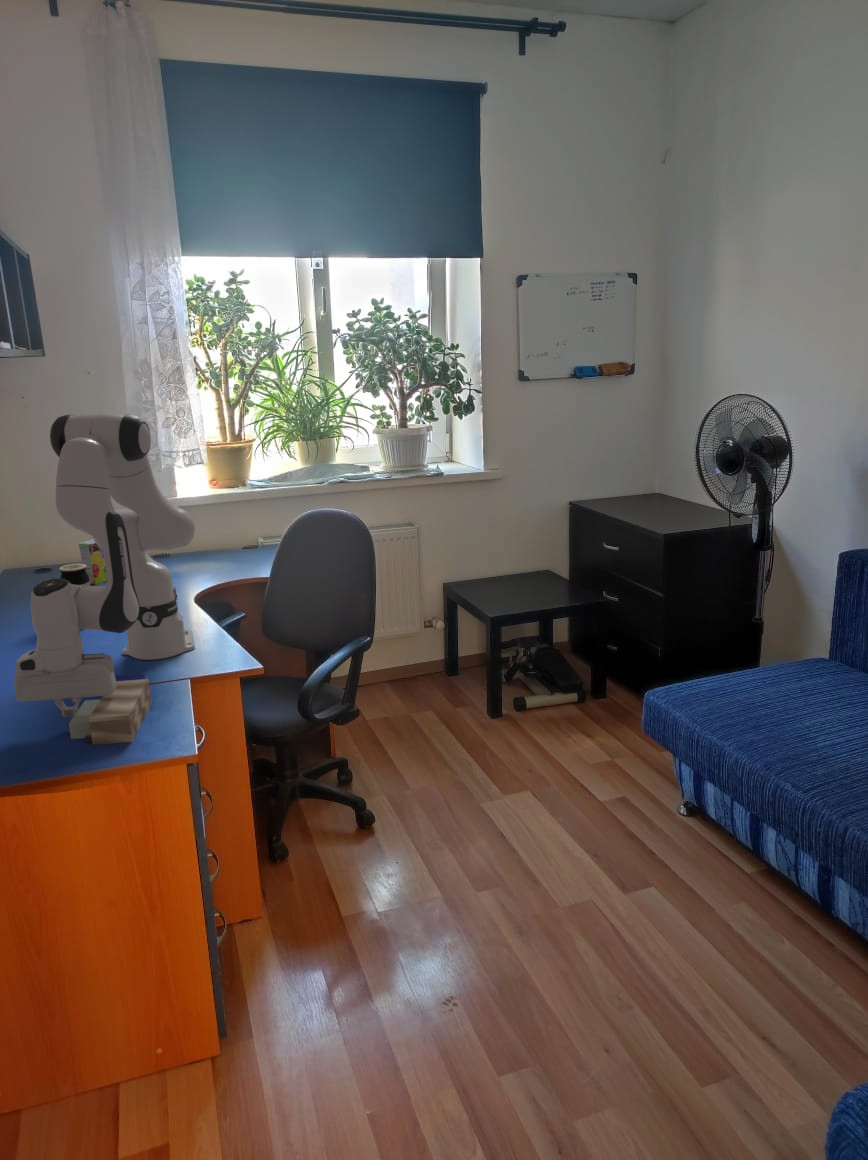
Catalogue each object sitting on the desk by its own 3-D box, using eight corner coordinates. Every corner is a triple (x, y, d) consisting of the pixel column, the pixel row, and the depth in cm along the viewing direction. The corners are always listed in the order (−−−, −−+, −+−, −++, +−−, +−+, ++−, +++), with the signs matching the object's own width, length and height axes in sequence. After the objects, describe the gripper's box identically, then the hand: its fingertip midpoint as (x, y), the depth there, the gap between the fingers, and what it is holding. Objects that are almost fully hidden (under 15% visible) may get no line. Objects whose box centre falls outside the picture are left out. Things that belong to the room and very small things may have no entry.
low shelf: (106, 706, 194) (103, 682, 193) (151, 703, 195) (148, 678, 194) (82, 745, 175) (78, 719, 173) (132, 741, 176) (128, 715, 174)
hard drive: (141, 691, 200) (146, 673, 211) (105, 695, 198) (112, 676, 209) (142, 697, 200) (147, 678, 212) (105, 701, 198) (112, 682, 210)
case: (87, 717, 190) (84, 700, 189) (128, 713, 191) (126, 697, 190) (71, 740, 178) (68, 723, 177) (115, 737, 179) (112, 720, 178)
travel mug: (85, 629, 249) (76, 570, 244) (61, 628, 251) (52, 569, 246) (100, 620, 257) (92, 563, 252) (77, 620, 258) (68, 562, 254)
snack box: (129, 569, 317) (123, 530, 313) (140, 570, 315) (135, 531, 311) (84, 584, 299) (78, 542, 295) (95, 585, 297) (89, 543, 293)
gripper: (115, 647, 184) (123, 706, 187) (17, 654, 182) (27, 713, 185) (108, 657, 178) (116, 718, 181) (6, 664, 176) (17, 725, 179)
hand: (70, 715), depth 183 cm, fingers closed
